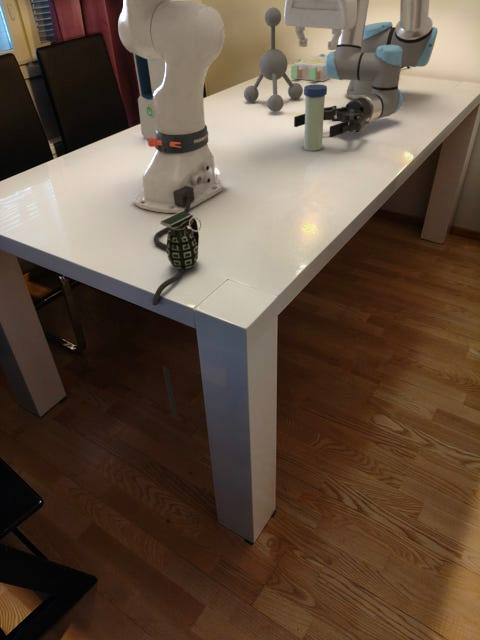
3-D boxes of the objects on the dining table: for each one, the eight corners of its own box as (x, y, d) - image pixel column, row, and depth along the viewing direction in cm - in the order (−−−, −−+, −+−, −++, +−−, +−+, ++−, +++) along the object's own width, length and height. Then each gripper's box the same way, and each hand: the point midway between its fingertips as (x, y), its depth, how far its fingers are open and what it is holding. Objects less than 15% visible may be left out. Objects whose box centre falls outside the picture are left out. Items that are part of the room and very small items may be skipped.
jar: (303, 145, 142) (305, 86, 132) (321, 144, 141) (324, 86, 132) (304, 151, 138) (306, 91, 128) (322, 150, 137) (325, 90, 128)
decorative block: (312, 52, 220) (353, 55, 210) (311, 68, 224) (351, 71, 214) (282, 63, 204) (325, 66, 194) (282, 79, 208) (324, 84, 198)
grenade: (182, 278, 88) (175, 228, 82) (162, 268, 91) (153, 219, 85) (208, 263, 92) (203, 214, 85) (187, 253, 95) (181, 205, 89)
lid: (303, 91, 133) (303, 84, 132) (326, 91, 133) (326, 83, 132) (303, 97, 129) (304, 90, 128) (327, 96, 128) (327, 89, 127)
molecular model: (322, 103, 175) (328, 5, 157) (274, 116, 166) (273, 12, 147) (282, 92, 191) (282, 1, 172) (235, 103, 181) (230, 8, 163)
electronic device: (141, 137, 154) (123, 28, 136) (159, 131, 158) (144, 24, 140) (166, 145, 147) (151, 30, 129) (185, 138, 151) (172, 26, 133)
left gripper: (278, -17, 120) (278, 46, 128) (347, -17, 108) (342, 53, 116) (295, -19, 123) (294, 43, 132) (363, -19, 111) (357, 49, 120)
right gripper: (395, 132, 139) (345, 150, 129) (330, 115, 155) (281, 131, 145) (399, 104, 135) (348, 121, 125) (331, 90, 150) (281, 104, 140)
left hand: (317, 48), depth 124 cm, fingers open, 8 cm apart
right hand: (312, 126), depth 135 cm, fingers open, 13 cm apart
